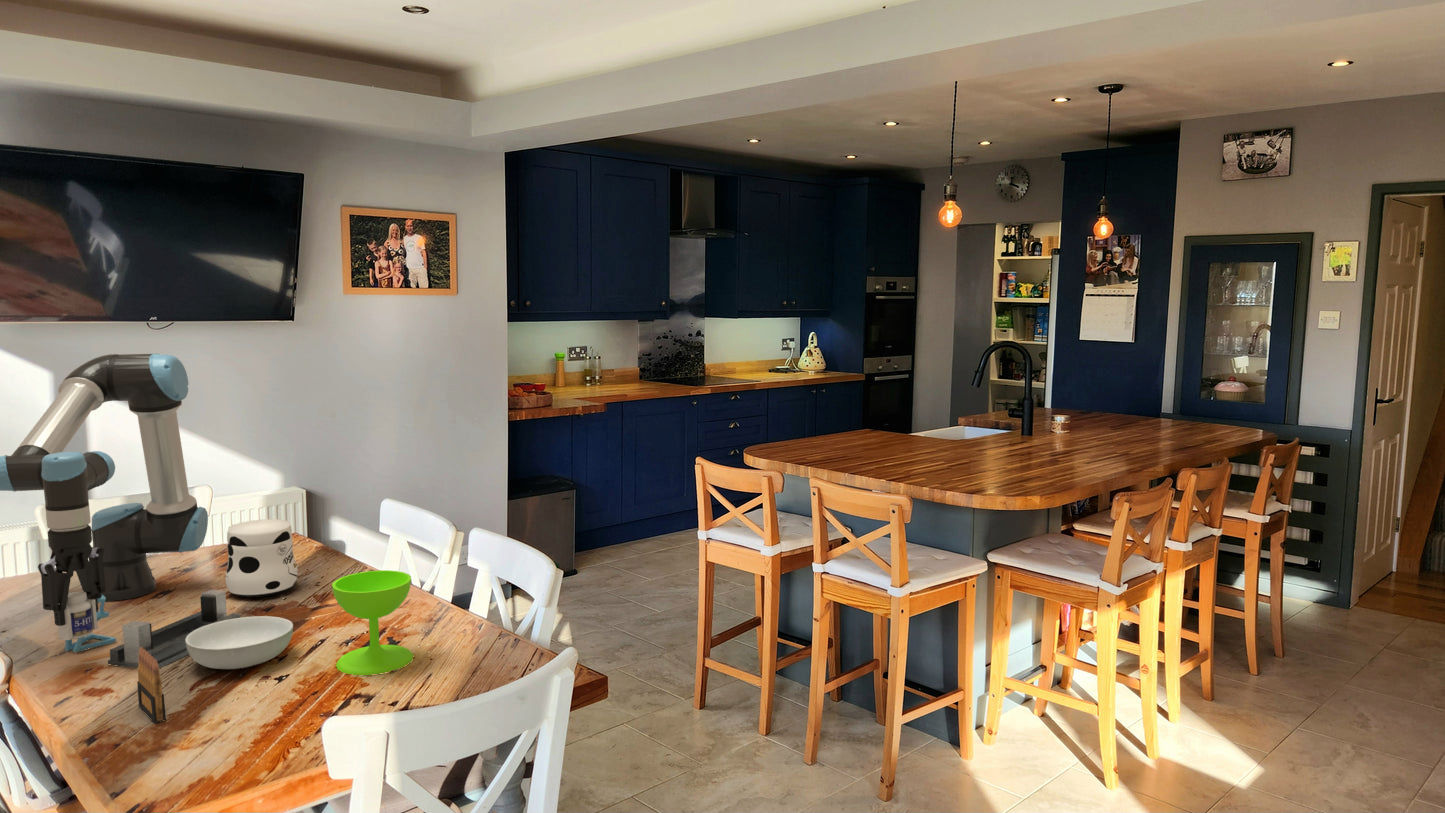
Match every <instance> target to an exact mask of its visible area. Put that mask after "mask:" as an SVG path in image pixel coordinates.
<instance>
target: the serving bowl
mask: <svg viewBox="0 0 1445 813" xmlns="http://www.w3.org/2000/svg"><path fill="white" fill-rule="evenodd" d="M293 631H294V624H293V622H292V621H291V620H290V619H287V618H284V617H278V616H268V615H267V616H266V615H264V616H261V615H260V616H259V615H258V616H257V615H255V616H243V617H240V618H235V619H229V620H224V621H220V622H216V623H212V624H209V625H206V626H203V627H200V628H198V629H196V630H194V631H193V632H191V633H190V634H189V635H188V636H187V637H186V639H185V642H186V647H187V650H188V653H189V656H190V657H191V658H192V659H193V660H194V661H195V662H196V663H198V665H200V666H202V667H206V668H209V669H217V670H218V669H219V670H239V669H240V668H241V669H246V668H250V667H254V666H256V665H260V664H263V663H265V662H268V661H269V660H272V659H273V658H275V657H277V656H278V655H280V654H281V653H282V652H283V651H284V650H285V649H286V648H287V647H288V645H289V644H290V642H291V640H292V637H293ZM253 665H254V666H253Z"/></svg>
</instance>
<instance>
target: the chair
mask: <svg viewBox="0 0 1445 813" xmlns="http://www.w3.org/2000/svg"><path fill="white" fill-rule="evenodd" d="M86 599H87V598H86ZM105 600H106V598H105V597H104V596H103V595H102V597H101V598H100V599H98V604H99V603H100V605H99V607H98V612H96V615H97V622H99V621H101V620H102V619H105V618H107V617H110V612H108V611H105V608H104V607H105V604H106V601H105ZM91 638H92V639H94V638H97V639H96V640H99V639H101V640H100V641H96V642H92V643H86V642H88V641H90V640H92V639H91ZM89 639H90V640H89ZM87 640H88V641H87ZM64 641H65V642H64V644H65V645H64V646H65V647H64V652H69V650H70V651H72V653H73V652H76V653H78V652H77V651H80V652H83V651H86V650H85V649H87V650H89V649H88V648H91V649H93V648H92V647H95V648H97V646H99V647H101V645H103V646H106V645H105V644H107V645H110V644H113V642H114V643H116V642H117V638H116V637H113V636H107V635H100V634H95V633H91V634H90V635H88V636H85V637H82V638H77V640H76V641H75V642H73V639H71V640H64ZM84 642H85V643H86V644H85V643H84ZM82 643H83V644H82ZM71 649H72V650H71ZM82 650H83V651H82Z"/></svg>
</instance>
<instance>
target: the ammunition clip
mask: <svg viewBox="0 0 1445 813" xmlns="http://www.w3.org/2000/svg"><path fill="white" fill-rule="evenodd" d="M138 660H139V661H138V669H137V678H138V681H136V682H137V694H138V695H137V697H138V698H137V699H138V707H139V708H140V710H142V711H144V712H145V713H146V714H147V715H148V716H149V717H148V716H147V715H146V714H145V713H144V714H145V715H146V716H147V717H148V718H149V719H150V718H151V719H152V720H151V719H150V720H151V721H152V723H153V724H155V723H156V724H158V723H157V722H159V723H161V722H160V721H163V720H166V721H167V717H166V706H165V694H164V693H163V685H162V678H161V674H160V668H159V666H158V663H157V661H156V659H154V658H153V656H152V657H151V655H150V654H149V653H148V652H147V651H146V650H145V649H143V647H142V646H141V647H140V650H139V656H138ZM163 722H164V721H163Z"/></svg>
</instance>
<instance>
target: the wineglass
mask: <svg viewBox="0 0 1445 813" xmlns="http://www.w3.org/2000/svg"><path fill="white" fill-rule="evenodd" d="M411 582H412V576H411V575H410V574H408V573H406V572H404V571H398V570H389V569H388V570H387V569H386V570H383V569H382V570H381V569H380V570H367V571H362V572H361V571H360V572H356V573H355V572H354V573H352V574H348V575H344V576H342V577H340V578H337V579H336V580H334V582H332V584H331V585H332V586H331V587H332V593H333V597H334V599H335V600H336V602H337V605H339V607H341V608H342V610H343V611H345V612H346V613H347V614H349V615H351V616H353V617H355V618H358V619H365V620H368V628H369V629H368V630H369V631H368V632H369V645H368V646H364V647H363V646H362V647H359V648H356V649H353V650H351V651H348V652H346V653H345V654H343V655H342V656H341V657H340V658H339V659H338V660H337V662H336V664H335V668H336V667H337V669H338V670H339V671H341V672H343V673H347V674H353V675H372V674H380V673H385V672H389V671H392V670H396V669H399V668H401V667H404V666H405V665H407V664H408V663H410V662H411V661H412V659H413V655H414V653H413V652H412V651H411V650H410V649H409V648H406V647H404V646H402V645H398V644H380V632H379V631H380V627H379V626H380V625H379V618H383V617H386V616H388V615H390V614H392V613H393V612H395V611H396V610H397V609H398V608H400V606H402V604H403V603H404V601H405V600H406V598H407V597H408V594H409V592H410V589H411ZM413 660H414V659H413ZM412 662H413V661H412ZM410 664H411V663H410ZM404 668H405V667H404ZM337 669H336V670H337ZM338 670H337V671H338ZM339 671H338V672H339ZM341 672H340V673H341Z"/></svg>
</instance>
